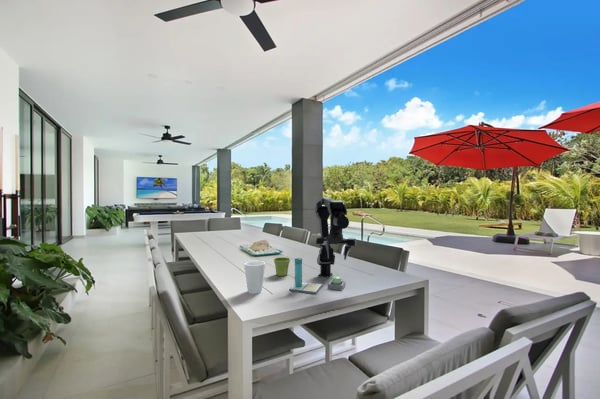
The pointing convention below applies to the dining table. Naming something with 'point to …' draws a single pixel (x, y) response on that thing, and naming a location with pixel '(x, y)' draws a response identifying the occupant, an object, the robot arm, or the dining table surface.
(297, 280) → the cylinder
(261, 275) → the foam cup
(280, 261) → the plant pot
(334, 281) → the button
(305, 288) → the patchwork square coaster
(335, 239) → the robot arm
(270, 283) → the dining table surface
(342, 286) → the button housing
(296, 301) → the dining table surface
